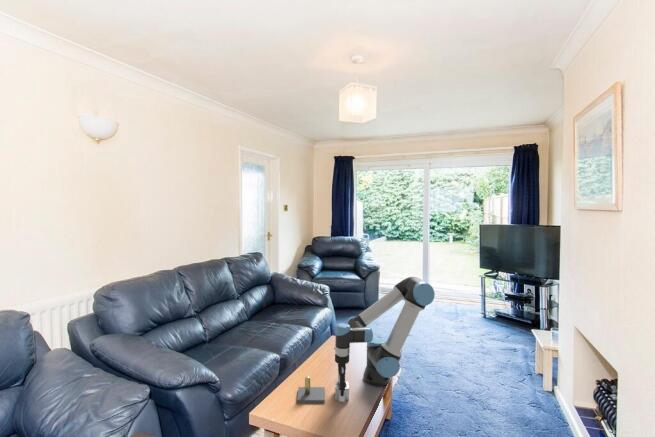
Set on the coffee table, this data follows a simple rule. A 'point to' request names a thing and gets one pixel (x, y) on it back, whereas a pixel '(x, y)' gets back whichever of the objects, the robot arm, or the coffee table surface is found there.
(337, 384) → the steel collar
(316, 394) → the keeper plate
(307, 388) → the pin
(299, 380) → the coffee table surface
